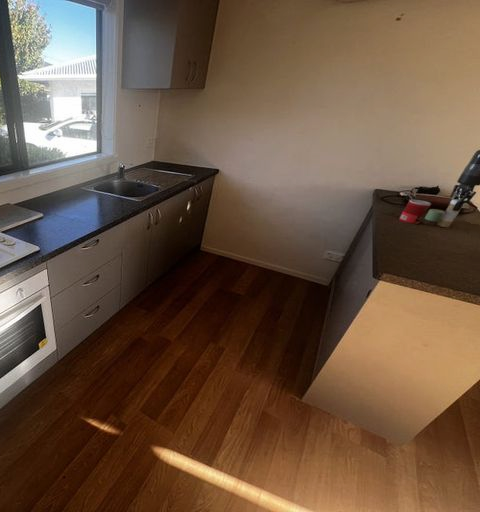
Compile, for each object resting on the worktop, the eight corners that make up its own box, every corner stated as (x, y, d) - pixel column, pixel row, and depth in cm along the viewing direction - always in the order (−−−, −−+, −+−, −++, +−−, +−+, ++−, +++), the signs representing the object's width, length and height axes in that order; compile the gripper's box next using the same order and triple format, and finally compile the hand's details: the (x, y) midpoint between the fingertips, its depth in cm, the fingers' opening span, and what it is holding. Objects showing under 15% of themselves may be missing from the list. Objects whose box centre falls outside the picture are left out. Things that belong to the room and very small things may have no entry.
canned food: (417, 226, 147) (430, 205, 141) (396, 221, 152) (408, 201, 147) (419, 222, 151) (432, 202, 146) (399, 217, 156) (410, 198, 151)
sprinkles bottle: (439, 223, 149) (456, 198, 142) (451, 227, 145) (468, 201, 138) (433, 224, 148) (450, 199, 141) (444, 228, 144) (462, 202, 137)
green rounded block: (430, 217, 157) (435, 208, 155) (443, 221, 152) (449, 212, 150) (421, 218, 156) (426, 209, 154) (434, 222, 151) (440, 213, 149)
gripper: (495, 177, 127) (471, 214, 135) (478, 171, 137) (457, 205, 146) (470, 176, 130) (448, 212, 138) (456, 169, 141) (436, 203, 149)
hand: (453, 208), depth 142 cm, fingers closed on sprinkles bottle, 4 cm apart
